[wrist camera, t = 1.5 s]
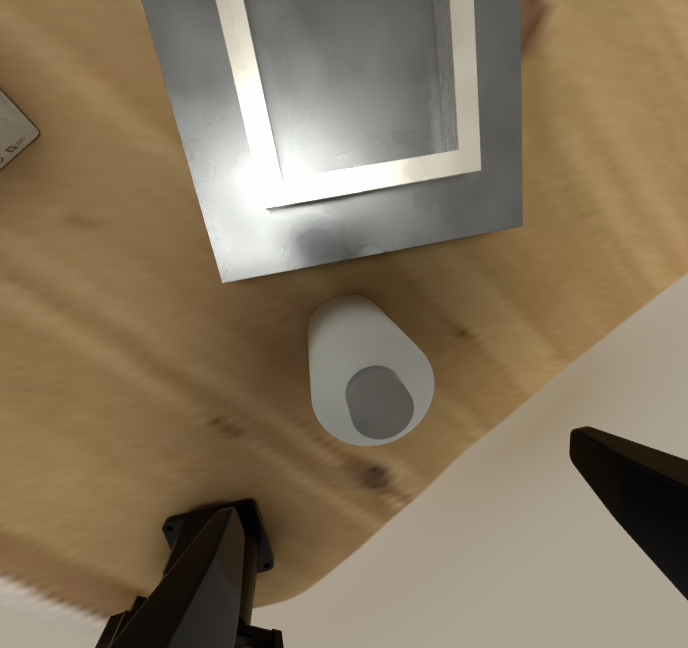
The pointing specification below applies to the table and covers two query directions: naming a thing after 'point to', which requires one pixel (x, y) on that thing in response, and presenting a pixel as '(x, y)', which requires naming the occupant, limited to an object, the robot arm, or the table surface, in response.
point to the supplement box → (13, 130)
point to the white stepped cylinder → (365, 373)
